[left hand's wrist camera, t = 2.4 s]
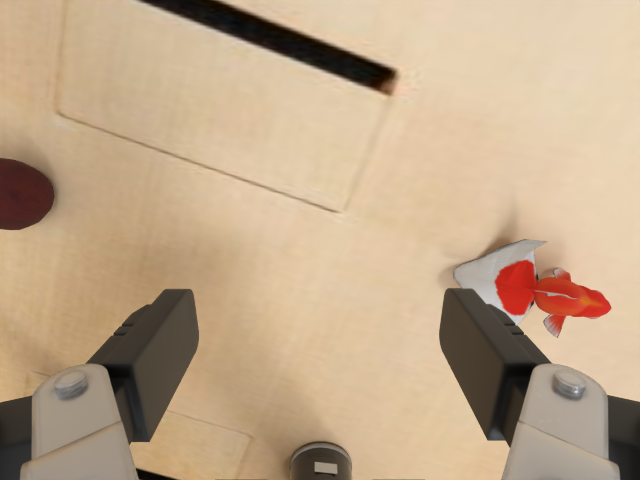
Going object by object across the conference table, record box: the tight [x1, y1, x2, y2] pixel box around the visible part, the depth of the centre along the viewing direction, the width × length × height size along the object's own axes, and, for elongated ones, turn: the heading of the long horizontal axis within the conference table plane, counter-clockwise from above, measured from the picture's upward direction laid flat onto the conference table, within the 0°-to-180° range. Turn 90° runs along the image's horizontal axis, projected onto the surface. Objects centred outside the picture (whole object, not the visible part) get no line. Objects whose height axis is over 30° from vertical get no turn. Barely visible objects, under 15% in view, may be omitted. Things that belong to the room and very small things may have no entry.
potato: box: [0, 158, 54, 230], centre depth 36 cm, size 7×8×7 cm
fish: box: [453, 239, 611, 338], centre depth 40 cm, size 11×16×10 cm
